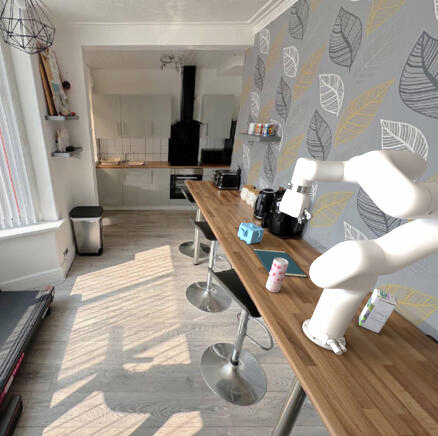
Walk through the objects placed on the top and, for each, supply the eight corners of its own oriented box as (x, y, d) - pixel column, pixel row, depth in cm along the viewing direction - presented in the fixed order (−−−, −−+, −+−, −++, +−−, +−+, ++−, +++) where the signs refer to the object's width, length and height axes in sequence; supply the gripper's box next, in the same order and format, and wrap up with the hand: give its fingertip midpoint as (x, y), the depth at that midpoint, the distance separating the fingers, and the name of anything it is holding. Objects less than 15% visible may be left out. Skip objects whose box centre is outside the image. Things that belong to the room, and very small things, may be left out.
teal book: (307, 277, 115) (307, 276, 115) (269, 274, 116) (269, 273, 116) (284, 251, 137) (284, 251, 137) (253, 249, 138) (253, 248, 138)
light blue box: (268, 244, 145) (272, 227, 140) (245, 248, 138) (249, 231, 134) (249, 233, 158) (253, 217, 154) (227, 236, 152) (231, 220, 147)
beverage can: (280, 294, 103) (290, 265, 97) (266, 290, 105) (275, 262, 99) (278, 286, 108) (287, 258, 102) (264, 283, 110) (273, 255, 104)
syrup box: (358, 316, 93) (374, 287, 87) (378, 324, 90) (396, 295, 84) (358, 325, 89) (375, 295, 83) (379, 334, 85) (398, 303, 80)
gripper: (276, 183, 103) (266, 219, 110) (312, 195, 88) (298, 235, 95) (289, 182, 105) (279, 217, 112) (326, 194, 90) (312, 234, 97)
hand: (288, 226), depth 103 cm, fingers open, 9 cm apart
